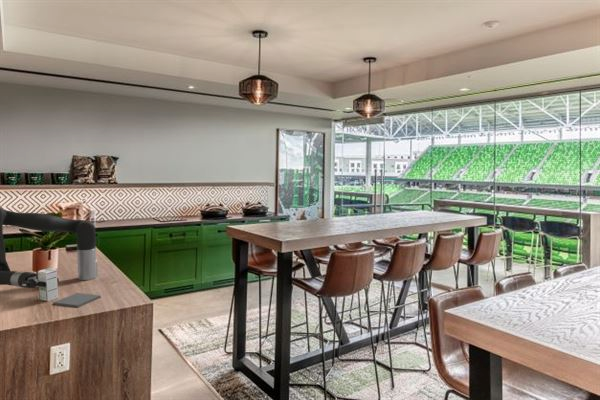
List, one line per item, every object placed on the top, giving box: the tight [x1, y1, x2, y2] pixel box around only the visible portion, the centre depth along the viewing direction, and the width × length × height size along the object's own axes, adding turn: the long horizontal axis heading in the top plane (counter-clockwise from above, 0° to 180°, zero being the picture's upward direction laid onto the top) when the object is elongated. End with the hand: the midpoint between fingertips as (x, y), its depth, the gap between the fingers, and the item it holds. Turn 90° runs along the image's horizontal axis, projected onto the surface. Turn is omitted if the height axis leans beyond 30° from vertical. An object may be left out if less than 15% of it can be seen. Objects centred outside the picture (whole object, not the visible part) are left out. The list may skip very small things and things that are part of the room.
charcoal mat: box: [52, 292, 102, 308], centre depth 185 cm, size 14×14×1 cm
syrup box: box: [37, 268, 59, 302], centre depth 186 cm, size 6×6×14 cm
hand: (51, 282), depth 185 cm, fingers closed on syrup box, 6 cm apart
